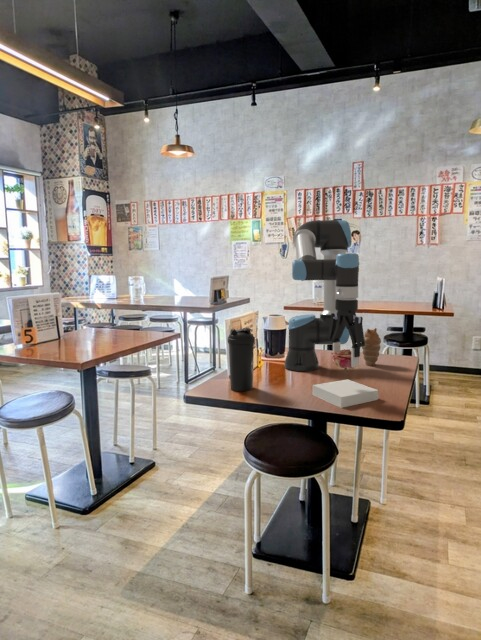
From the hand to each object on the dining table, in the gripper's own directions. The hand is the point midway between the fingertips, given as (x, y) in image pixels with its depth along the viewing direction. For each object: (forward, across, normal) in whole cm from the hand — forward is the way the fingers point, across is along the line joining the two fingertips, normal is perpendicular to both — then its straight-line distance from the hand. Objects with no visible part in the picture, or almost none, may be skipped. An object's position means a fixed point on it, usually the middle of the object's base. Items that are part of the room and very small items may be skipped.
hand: (345, 363), depth 157 cm
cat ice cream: (+13, -30, +39) cm, 51 cm away
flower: (+3, 0, 0) cm, 3 cm away
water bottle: (+13, -29, -26) cm, 41 cm away
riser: (+13, 0, 0) cm, 13 cm away
